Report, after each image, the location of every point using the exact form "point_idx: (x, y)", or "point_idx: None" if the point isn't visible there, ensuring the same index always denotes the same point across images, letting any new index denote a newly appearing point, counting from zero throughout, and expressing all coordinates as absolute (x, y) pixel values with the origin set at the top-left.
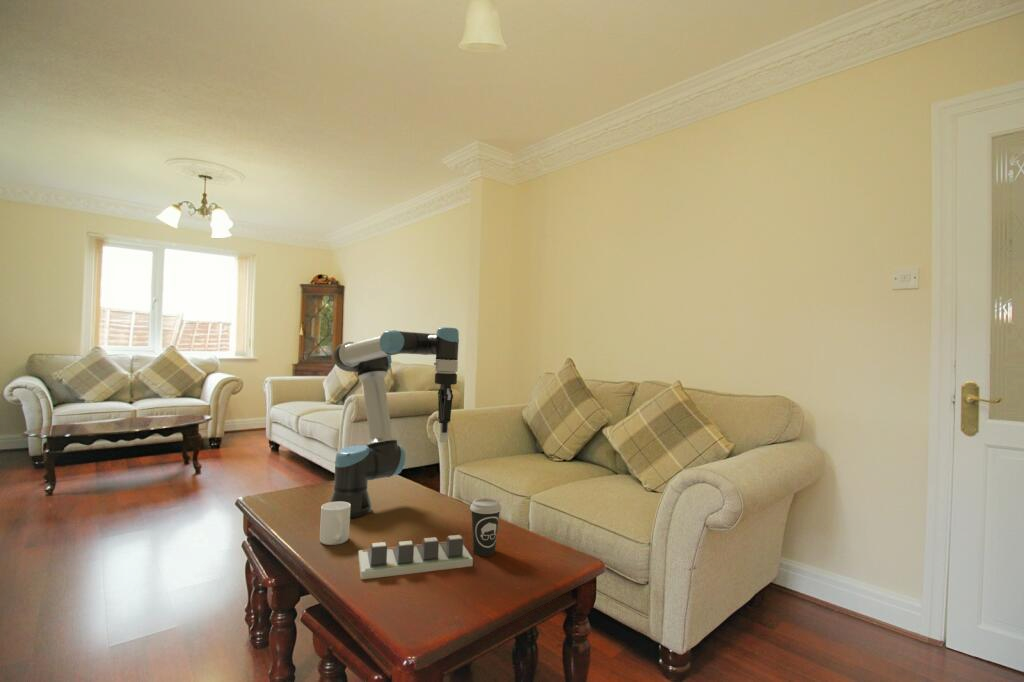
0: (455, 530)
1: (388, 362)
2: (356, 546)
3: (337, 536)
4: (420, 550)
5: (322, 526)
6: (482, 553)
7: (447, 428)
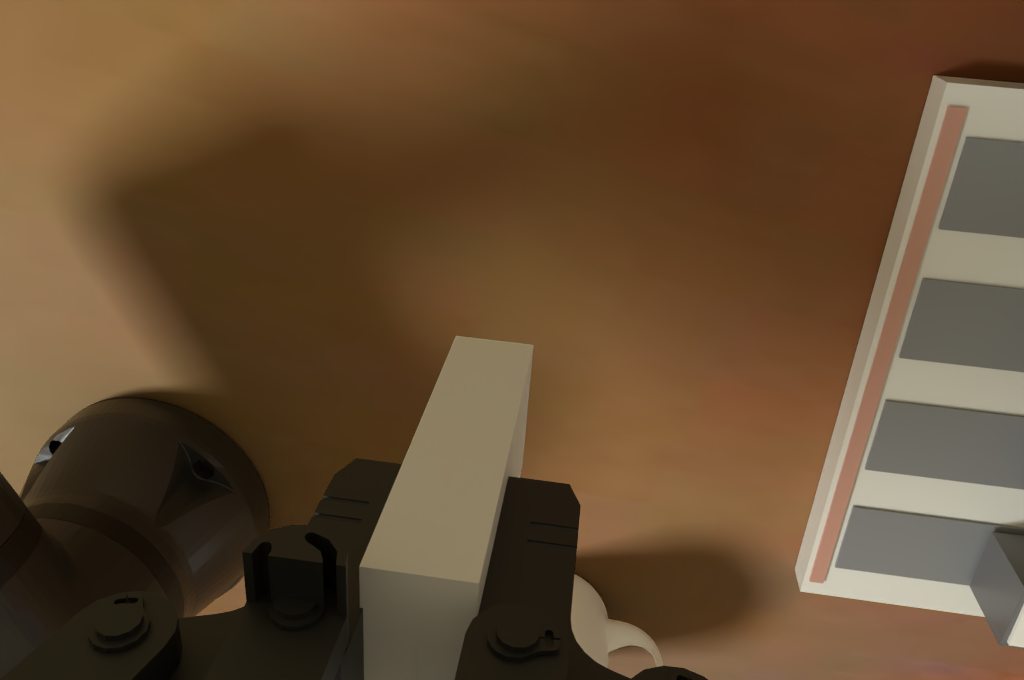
0: (640, 3)
1: None
2: (658, 551)
3: (622, 646)
4: (973, 356)
5: None
6: None
7: (500, 504)
